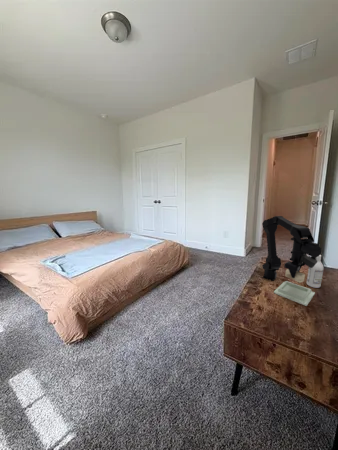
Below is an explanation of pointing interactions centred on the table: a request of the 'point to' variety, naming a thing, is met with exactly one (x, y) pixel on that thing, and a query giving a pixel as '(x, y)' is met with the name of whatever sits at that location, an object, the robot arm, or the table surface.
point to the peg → (296, 276)
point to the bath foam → (315, 274)
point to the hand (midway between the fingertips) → (294, 276)
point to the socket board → (295, 292)
